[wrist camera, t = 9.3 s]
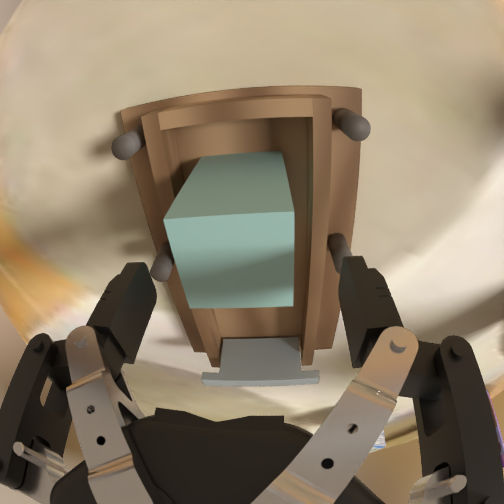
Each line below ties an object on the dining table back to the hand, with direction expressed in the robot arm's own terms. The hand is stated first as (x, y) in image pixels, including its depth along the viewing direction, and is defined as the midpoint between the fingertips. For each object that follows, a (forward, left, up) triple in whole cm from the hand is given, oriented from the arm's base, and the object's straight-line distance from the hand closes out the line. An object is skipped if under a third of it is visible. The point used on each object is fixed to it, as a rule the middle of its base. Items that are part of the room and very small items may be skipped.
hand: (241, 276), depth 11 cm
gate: (0, +16, -8) cm, 18 cm away
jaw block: (0, 0, -9) cm, 9 cm away
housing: (0, +7, -10) cm, 12 cm away
